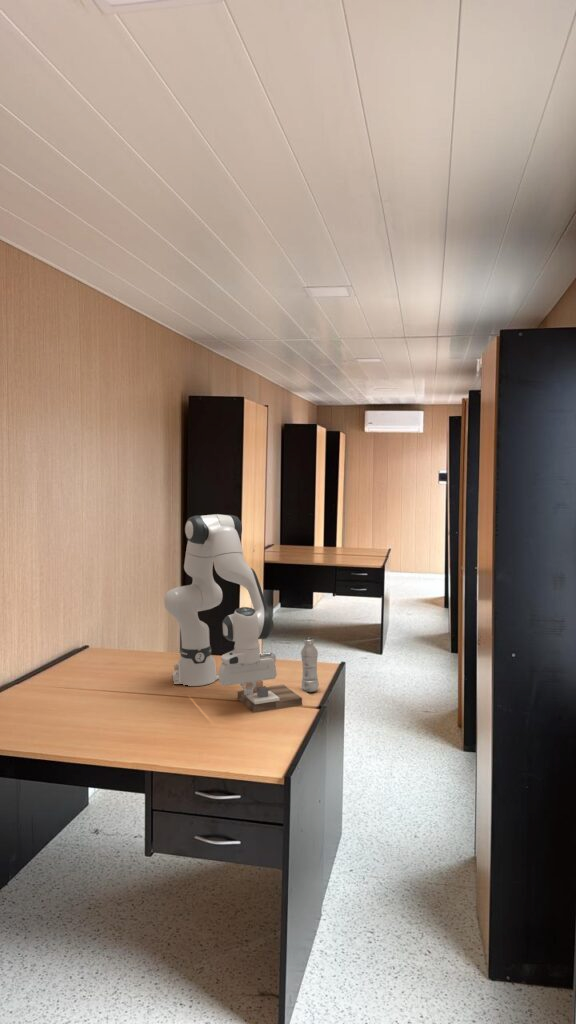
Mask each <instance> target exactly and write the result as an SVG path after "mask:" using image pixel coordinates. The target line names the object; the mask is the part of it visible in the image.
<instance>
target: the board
mask: <svg viewBox="0 0 576 1024" xmlns="http://www.w3.org/2000/svg"><path fill="white" fill-rule="evenodd" d="M266 687H267V688H268V691H271V692H272V693H274V694H275V695H276V696H278V697H279V701H274V702H267V703H261V704H254V703H253V702H251V701H250V700H249V699H248V698H247V697H246V695H244V689H243V690H237V691H236V693H237V699H238V700H239V702H241V703H242V704H243V705H244V706H246V708H248V710H250V711H251V712H252V713H261V712H268V711H274V710H279V709H280V710H281V709H286V708H292V707H299V706H303V698H302V696H300V695H298V694H297V693H295V691H293V690H292V689H290V688H289V687H288V686H286V685H284V684H278V685H271V686H266Z"/></svg>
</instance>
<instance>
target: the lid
mask: <svg viewBox="0 0 576 1024" xmlns="http://www.w3.org/2000/svg"><path fill="white" fill-rule="evenodd" d="M267 687H268V686H266V685H263V686H261V687H257V693H253V694H251V695H246V697H247V698H248V699H249V700H250V701H251V702H253V703H254V704H261V703H267V702H274V701H279V697H278V696H276V695H275V694H274V693H272V692H271V691H268V688H267Z"/></svg>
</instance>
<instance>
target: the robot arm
mask: <svg viewBox="0 0 576 1024" xmlns="http://www.w3.org/2000/svg"><path fill="white" fill-rule="evenodd" d="M242 531H243V525H242V522H241V520H240V518H239V517H238V516H236V515H233V514H219V513H217V514H216V513H215V514H207V515H203V514H202V515H194V516H193V515H192V516H190V517H189V518H188V519H187V520H186V522H185V525H184V533H185V537H186V539H187V544H186V549H185V550H186V551H185V557H184V564H183V569H184V572H185V573H186V575H188V576H189V577H191V579H192V583H191V584H187V585H180V586H177V587H175V588H172V589H170V590H167V592H166V593H165V596H164V599H163V605H164V608H165V609H166V612H168V613H169V614H170V615H172V616H173V617H174V618H175V619H176V622H177V623H178V626H179V630H180V637H181V638H180V640H181V647H180V657H179V659H178V661H177V664H176V663H175V664H173V670H174V672H172V681H174V683H175V684H183V685H182V686H185V685H188V686H187V687H198V686H199V687H200V686H205V685H209V684H212V683H215V681H217V680H218V682H219V683H220V684H221V685H222V686H223V687H225V686H232V685H238V684H239V685H240V686H241V688H242V689H243V690H244V695H251V694H253V689H254V688H255V686H256V681H269V680H274V679H276V677H277V674H278V673H277V666H276V663H277V659H276V658H277V657H276V655H275V653H273V652H271V651H268V652H261V649H260V648H261V646H260V642H259V641H260V640H266V639H268V638H269V637H270V636H271V635H272V634H273V632H274V629H275V626H274V625H275V624H274V620H273V617H272V615H271V612H270V610H269V608H268V605H267V602H266V599H265V596H264V593H263V590H262V586H261V584H260V581H259V578H258V576H257V574H256V571H255V570H254V569H253V568H252V567H250V566H249V565H248V564H247V561H246V560H245V557H244V551H243V547H242V543H241V539H240V537H241V536H242V533H243V532H242ZM213 567H214V568H213ZM213 569H214V570H215V572H216V574H217V575H218V576H219V577H220V578H221V579H222V580H225V581H228V582H231V583H234V584H238V585H240V586H242V587H244V588H245V589H246V590H247V593H248V595H249V598H250V602H251V603H252V604H251V605H252V607H247V606H242V607H238V608H236V609H235V610H234V612H233V613H231V614H229V615H226V616H225V617H224V619H223V620H222V622H221V629H222V630H221V631H222V637H224V638H225V639H226V640H228V641H229V642H234V646H233V649H232V650H231V651H228V652H226V653H224V654H222V655H221V656H220V659H221V661H222V662H221V664H220V665H219V671H218V674H217V671H216V670H217V669H216V659H215V658H214V657H213V656H212V655H211V654H212V647H211V644H210V643H211V642H210V628H209V626H208V624H207V623H205V622H204V621H203V620H200V618H199V615H198V614H199V613H198V612H202V611H208V610H212V609H214V608H215V607H217V606H220V604H221V603H222V601H223V596H224V595H223V590H222V588H221V587H220V585H219V584H218V583H217V582H216V580H215V579H214V575H213ZM248 682H251V684H252V685H251V687H250V688H249V689H246V688H245V686H246V683H248ZM174 683H173V684H174Z"/></svg>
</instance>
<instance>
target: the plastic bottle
mask: <svg viewBox="0 0 576 1024" xmlns="http://www.w3.org/2000/svg"><path fill="white" fill-rule="evenodd" d="M303 641H304V642H303V644H304V646H303V647H302V649H301V651H300V657H301V663H302V679H301V689H302V691H303V692H305V693H313V692H317V691H318V689H319V687H320V686H319V679H318V672H317V669H318V657H319V656H318V655H319V652H318V649H317V648H316V646H315V642H314V641H315V639H314V638H312V637H305V638H303Z"/></svg>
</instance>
